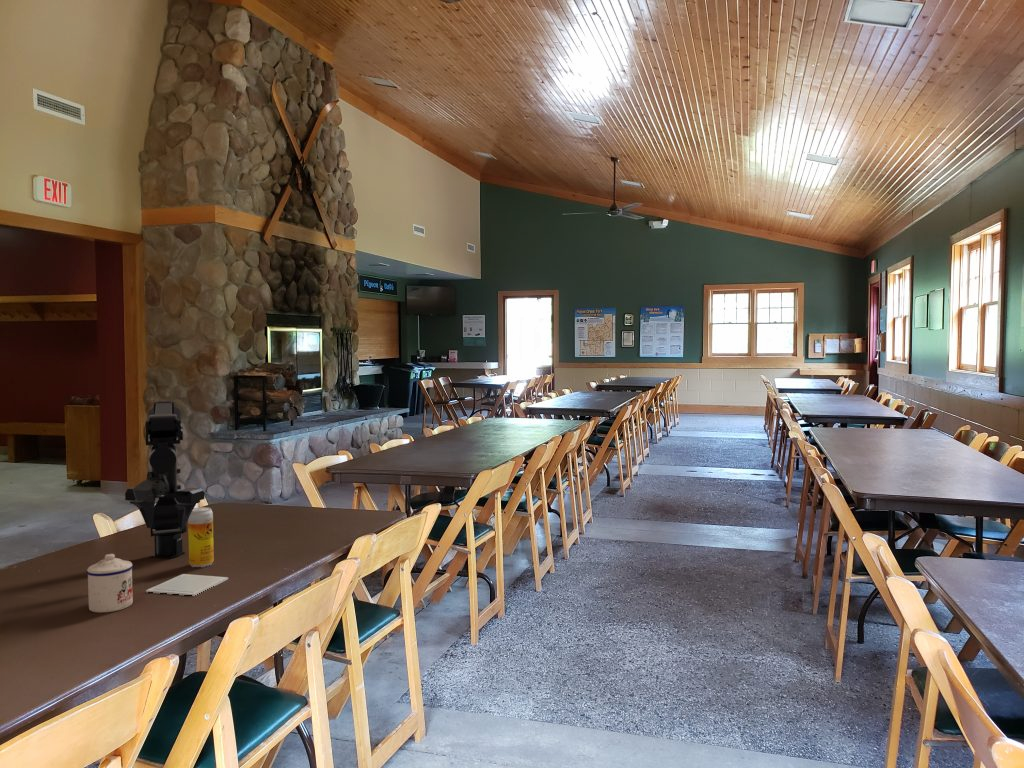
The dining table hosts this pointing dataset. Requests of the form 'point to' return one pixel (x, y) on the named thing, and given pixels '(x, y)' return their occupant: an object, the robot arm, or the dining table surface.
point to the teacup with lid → (110, 584)
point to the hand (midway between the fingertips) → (165, 528)
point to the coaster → (187, 584)
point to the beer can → (201, 537)
